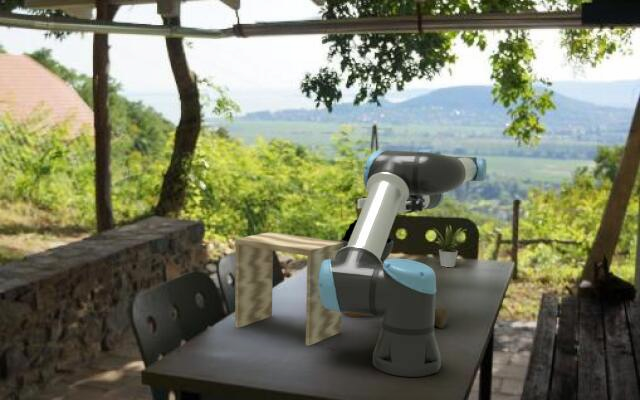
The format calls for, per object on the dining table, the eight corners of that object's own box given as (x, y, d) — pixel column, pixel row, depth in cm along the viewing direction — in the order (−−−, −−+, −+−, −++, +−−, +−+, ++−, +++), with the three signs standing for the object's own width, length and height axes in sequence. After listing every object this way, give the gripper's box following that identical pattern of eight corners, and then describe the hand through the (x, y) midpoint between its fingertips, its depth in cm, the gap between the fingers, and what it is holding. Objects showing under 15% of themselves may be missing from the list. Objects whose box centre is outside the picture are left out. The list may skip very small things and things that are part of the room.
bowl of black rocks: (333, 269, 254) (334, 218, 252) (347, 259, 273) (348, 212, 271) (386, 274, 248) (388, 222, 246) (397, 263, 267) (398, 215, 265)
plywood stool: (269, 315, 192) (270, 232, 190) (341, 332, 179) (343, 242, 176) (235, 327, 181) (235, 238, 178) (309, 345, 167) (310, 250, 165)
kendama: (391, 337, 177) (418, 316, 195) (426, 344, 173) (451, 322, 190) (392, 314, 176) (419, 296, 194) (428, 321, 172) (453, 301, 189)
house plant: (477, 269, 258) (479, 226, 256) (445, 272, 253) (447, 228, 251) (456, 262, 271) (457, 221, 270) (425, 264, 266) (426, 222, 264)
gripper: (449, 215, 211) (416, 223, 194) (378, 208, 225) (342, 214, 208) (450, 191, 210) (417, 196, 193) (378, 185, 224) (342, 189, 207)
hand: (378, 205), depth 200 cm, fingers open, 13 cm apart
